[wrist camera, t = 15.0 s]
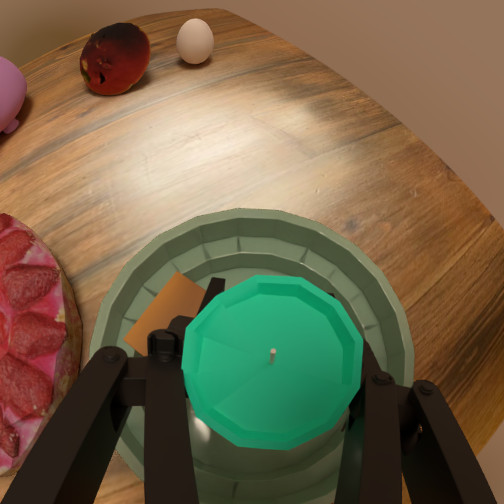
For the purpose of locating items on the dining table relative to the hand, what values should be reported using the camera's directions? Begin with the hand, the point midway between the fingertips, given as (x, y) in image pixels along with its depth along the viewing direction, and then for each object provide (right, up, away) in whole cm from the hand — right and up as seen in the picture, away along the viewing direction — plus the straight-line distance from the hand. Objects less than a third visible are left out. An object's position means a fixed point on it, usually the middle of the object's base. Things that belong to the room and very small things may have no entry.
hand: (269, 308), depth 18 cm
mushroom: (-22, +31, +23) cm, 44 cm away
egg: (-9, +31, +24) cm, 41 cm away
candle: (0, -5, +2) cm, 6 cm away
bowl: (-1, -6, +6) cm, 8 cm away
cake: (-27, -6, +4) cm, 28 cm away
